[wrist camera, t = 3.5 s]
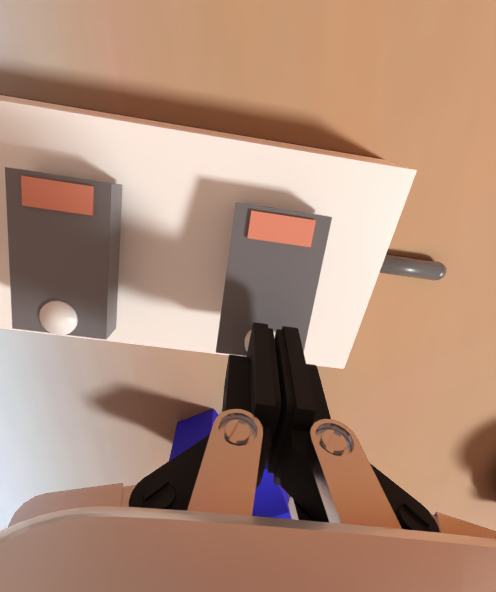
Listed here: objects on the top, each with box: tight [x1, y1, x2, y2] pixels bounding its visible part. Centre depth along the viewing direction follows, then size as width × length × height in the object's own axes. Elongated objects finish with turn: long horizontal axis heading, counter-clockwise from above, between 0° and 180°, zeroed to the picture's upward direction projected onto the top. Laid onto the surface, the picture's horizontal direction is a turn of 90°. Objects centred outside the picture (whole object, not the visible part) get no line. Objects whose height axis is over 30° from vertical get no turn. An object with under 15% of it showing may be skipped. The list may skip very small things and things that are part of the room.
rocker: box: [5, 167, 122, 339], centre depth 13 cm, size 6×4×1 cm, turn 171°
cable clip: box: [169, 409, 292, 519], centre depth 24 cm, size 12×4×6 cm, turn 26°
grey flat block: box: [216, 202, 332, 356], centre depth 14 cm, size 6×4×1 cm, turn 171°
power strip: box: [0, 95, 446, 369], centre depth 16 cm, size 10×31×4 cm, turn 81°
